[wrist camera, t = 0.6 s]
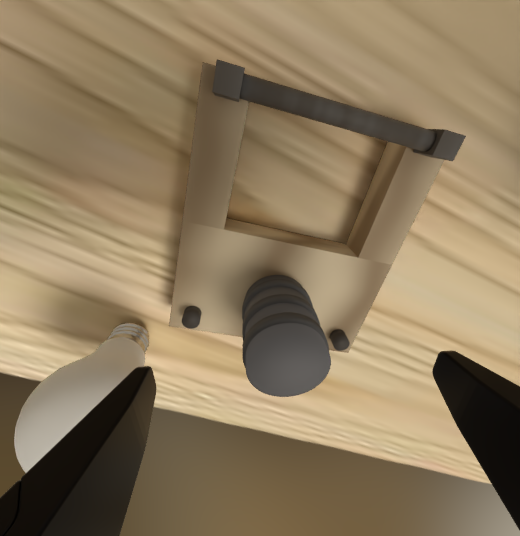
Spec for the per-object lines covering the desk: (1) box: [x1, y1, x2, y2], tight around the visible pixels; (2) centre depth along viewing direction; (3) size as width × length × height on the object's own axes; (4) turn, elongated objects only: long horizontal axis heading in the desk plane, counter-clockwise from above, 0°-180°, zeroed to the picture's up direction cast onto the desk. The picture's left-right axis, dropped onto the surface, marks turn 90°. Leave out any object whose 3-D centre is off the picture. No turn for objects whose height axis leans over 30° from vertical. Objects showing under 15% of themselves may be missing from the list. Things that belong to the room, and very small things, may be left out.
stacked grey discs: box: [242, 275, 331, 397], centre depth 17 cm, size 5×5×6 cm
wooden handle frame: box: [169, 60, 466, 353], centre depth 18 cm, size 14×16×4 cm
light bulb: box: [14, 323, 149, 473], centre depth 18 cm, size 7×7×11 cm
